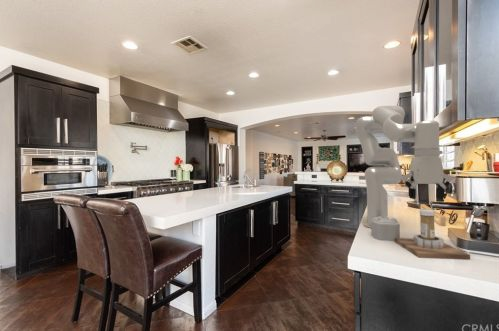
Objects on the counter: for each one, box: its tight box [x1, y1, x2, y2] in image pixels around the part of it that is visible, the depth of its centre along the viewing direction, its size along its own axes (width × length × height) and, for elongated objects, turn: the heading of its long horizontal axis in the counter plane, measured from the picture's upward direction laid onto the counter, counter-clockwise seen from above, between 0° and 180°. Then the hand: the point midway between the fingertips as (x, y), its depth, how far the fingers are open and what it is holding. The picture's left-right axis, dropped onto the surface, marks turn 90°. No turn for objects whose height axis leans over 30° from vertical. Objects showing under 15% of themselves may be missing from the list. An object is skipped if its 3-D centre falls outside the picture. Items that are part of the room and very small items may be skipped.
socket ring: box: [413, 233, 444, 250], centre depth 91 cm, size 9×9×3 cm
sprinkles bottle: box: [419, 208, 436, 240], centre depth 91 cm, size 5×5×14 cm
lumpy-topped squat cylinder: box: [370, 216, 401, 242], centre depth 108 cm, size 10×13×9 cm
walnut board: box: [393, 237, 471, 260], centre depth 91 cm, size 18×16×2 cm
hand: (426, 198), depth 92 cm, fingers open, 9 cm apart
